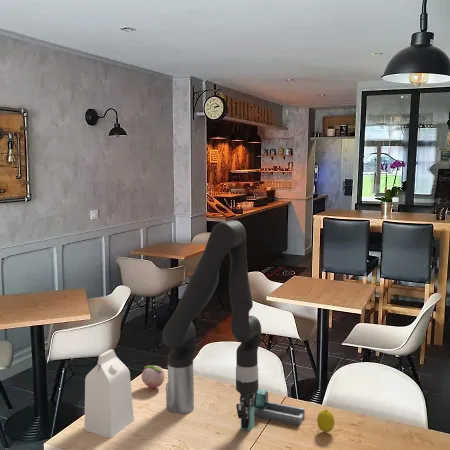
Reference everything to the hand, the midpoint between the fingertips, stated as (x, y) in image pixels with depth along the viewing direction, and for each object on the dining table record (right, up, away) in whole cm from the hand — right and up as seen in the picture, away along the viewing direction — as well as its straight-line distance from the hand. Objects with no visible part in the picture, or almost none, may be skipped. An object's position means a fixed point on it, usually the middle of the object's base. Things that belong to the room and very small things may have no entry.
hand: (247, 424), depth 164 cm
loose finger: (0, -1, 0) cm, 1 cm away
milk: (-47, -2, +2) cm, 47 cm away
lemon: (+26, -1, -4) cm, 26 cm away
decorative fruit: (-36, +2, +30) cm, 47 cm away
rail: (+11, 0, +7) cm, 13 cm away
